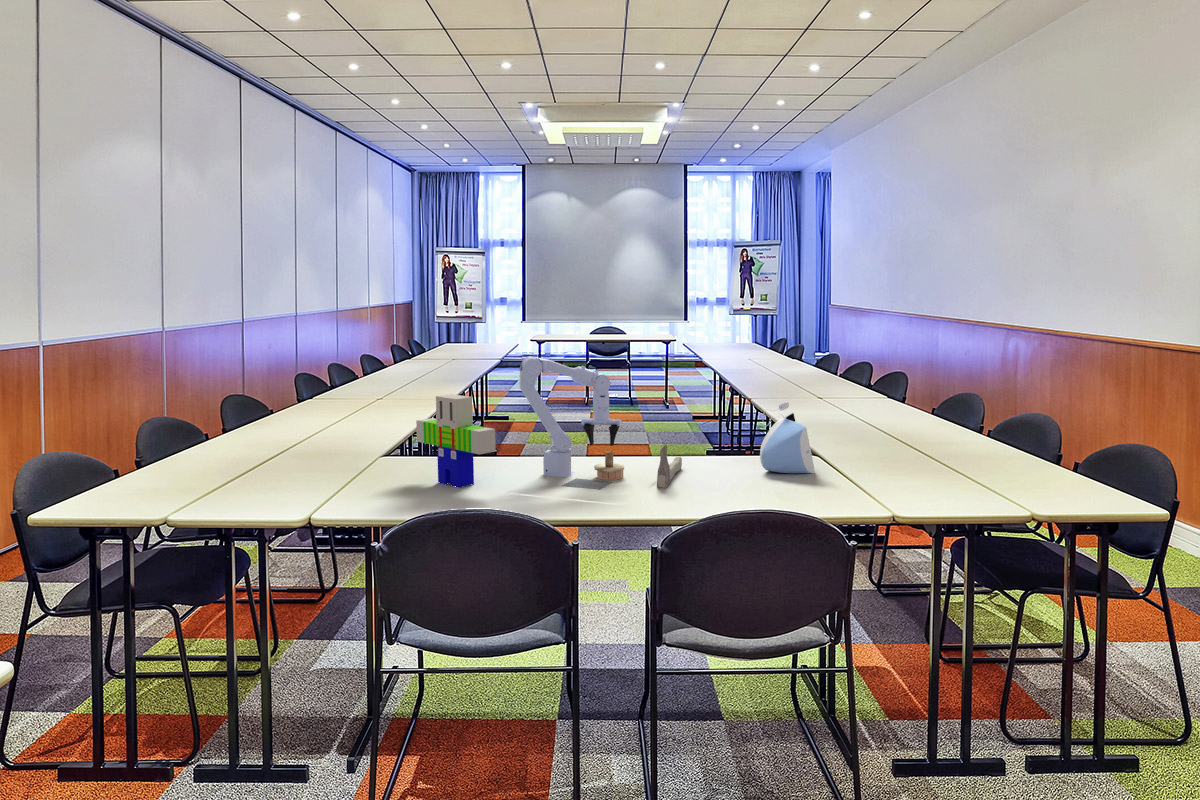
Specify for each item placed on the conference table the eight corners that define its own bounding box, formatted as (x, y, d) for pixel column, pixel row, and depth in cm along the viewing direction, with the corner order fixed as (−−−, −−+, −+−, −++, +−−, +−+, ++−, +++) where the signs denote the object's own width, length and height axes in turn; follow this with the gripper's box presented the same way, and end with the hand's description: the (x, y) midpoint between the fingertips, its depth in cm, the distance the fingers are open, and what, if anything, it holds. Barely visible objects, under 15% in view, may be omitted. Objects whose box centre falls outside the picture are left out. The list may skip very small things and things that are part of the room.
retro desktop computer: (789, 397, 336) (823, 402, 322) (800, 454, 342) (834, 461, 328) (740, 423, 323) (773, 429, 309) (753, 481, 330) (786, 490, 316)
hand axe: (665, 490, 298) (665, 448, 297) (655, 489, 299) (655, 448, 298) (683, 472, 332) (683, 435, 331) (674, 471, 333) (675, 434, 331)
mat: (561, 487, 302) (561, 485, 302) (575, 480, 313) (575, 478, 313) (600, 491, 297) (600, 489, 297) (613, 483, 308) (613, 481, 307)
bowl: (593, 479, 313) (593, 469, 313) (603, 474, 321) (603, 464, 321) (617, 482, 310) (617, 471, 309) (626, 476, 318) (626, 466, 317)
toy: (418, 477, 317) (415, 393, 313) (433, 474, 322) (431, 391, 318) (480, 493, 294) (478, 402, 290) (496, 489, 299) (494, 400, 295)
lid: (589, 470, 312) (589, 453, 311) (601, 464, 321) (601, 448, 320) (617, 472, 308) (617, 456, 307) (628, 467, 317) (628, 450, 316)
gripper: (578, 408, 319) (579, 446, 321) (617, 409, 314) (617, 447, 316) (584, 405, 325) (585, 442, 327) (623, 406, 321) (623, 444, 322)
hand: (601, 444), depth 322 cm, fingers open, 7 cm apart
